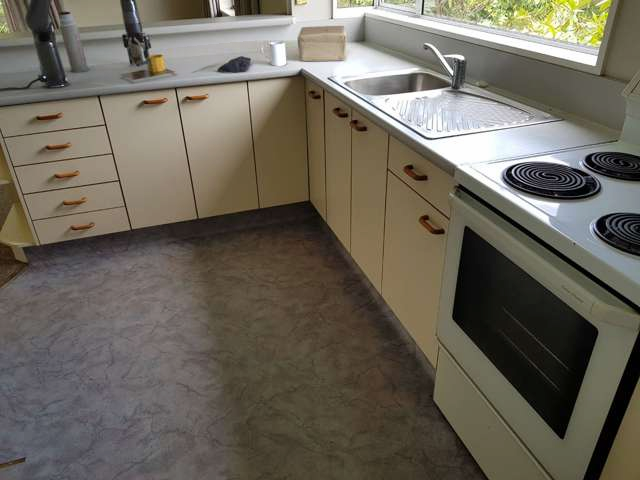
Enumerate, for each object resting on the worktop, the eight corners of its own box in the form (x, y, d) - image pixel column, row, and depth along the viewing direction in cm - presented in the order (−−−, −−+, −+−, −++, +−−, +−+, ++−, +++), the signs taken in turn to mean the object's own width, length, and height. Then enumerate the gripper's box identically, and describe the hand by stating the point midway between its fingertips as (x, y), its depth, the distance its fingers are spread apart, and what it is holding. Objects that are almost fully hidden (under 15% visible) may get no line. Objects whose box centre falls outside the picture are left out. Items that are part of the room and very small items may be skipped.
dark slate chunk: (256, 62, 270) (255, 53, 267) (245, 72, 251) (245, 62, 249) (228, 62, 272) (227, 53, 269) (216, 72, 253) (214, 62, 251)
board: (133, 83, 239) (132, 79, 238) (120, 77, 250) (119, 74, 249) (176, 75, 251) (175, 71, 250) (162, 69, 261) (161, 66, 261)
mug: (286, 62, 269) (285, 41, 263) (285, 65, 262) (283, 44, 257) (263, 62, 269) (262, 41, 264) (261, 66, 263) (259, 44, 257)
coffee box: (129, 66, 270) (123, 34, 261) (137, 63, 275) (130, 31, 267) (144, 67, 267) (138, 34, 259) (151, 64, 273) (145, 32, 264)
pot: (155, 67, 260) (153, 54, 256) (168, 68, 257) (166, 55, 253) (132, 75, 246) (129, 61, 243) (146, 76, 243) (143, 62, 240)
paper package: (301, 51, 291) (300, 25, 284) (346, 51, 290) (346, 24, 283) (297, 62, 268) (296, 34, 261) (346, 61, 267) (346, 33, 260)
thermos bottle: (91, 68, 267) (76, 10, 252) (82, 72, 260) (66, 13, 246) (77, 68, 268) (62, 10, 254) (68, 72, 262) (52, 13, 247)
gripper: (114, 22, 234) (122, 58, 242) (138, 23, 229) (146, 60, 237) (125, 19, 239) (133, 55, 248) (149, 20, 234) (156, 56, 243)
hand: (139, 57), depth 243 cm, fingers open, 8 cm apart
